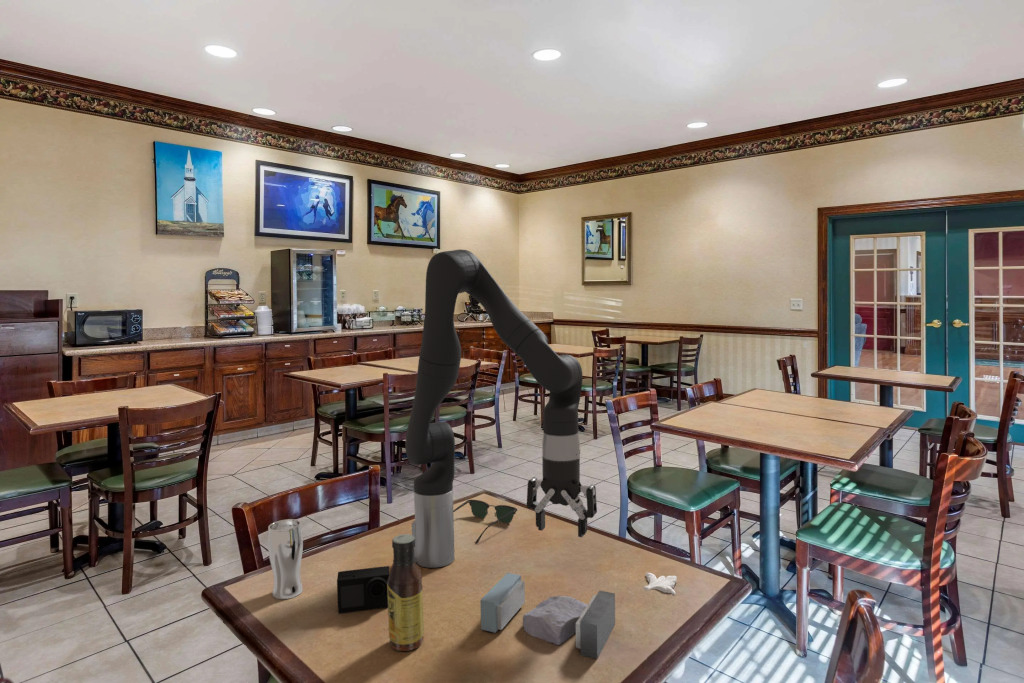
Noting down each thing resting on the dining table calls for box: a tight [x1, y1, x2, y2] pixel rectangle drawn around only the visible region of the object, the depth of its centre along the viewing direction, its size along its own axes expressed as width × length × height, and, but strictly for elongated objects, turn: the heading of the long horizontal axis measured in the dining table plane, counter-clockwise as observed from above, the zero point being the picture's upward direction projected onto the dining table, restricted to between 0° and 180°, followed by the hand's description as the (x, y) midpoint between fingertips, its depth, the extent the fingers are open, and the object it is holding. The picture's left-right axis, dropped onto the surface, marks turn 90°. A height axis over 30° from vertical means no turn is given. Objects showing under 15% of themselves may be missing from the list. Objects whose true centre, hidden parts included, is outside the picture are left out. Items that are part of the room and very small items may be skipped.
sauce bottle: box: [387, 533, 425, 652], centre depth 105 cm, size 6×6×20 cm
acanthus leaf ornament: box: [643, 572, 678, 596], centre depth 126 cm, size 8×7×2 cm
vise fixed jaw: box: [575, 590, 616, 660], centre depth 106 cm, size 4×12×6 cm, turn 155°
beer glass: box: [267, 518, 304, 600], centre depth 125 cm, size 7×7×15 cm
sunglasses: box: [453, 499, 518, 544], centre depth 160 cm, size 16×17×5 cm
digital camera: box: [336, 565, 390, 614], centre depth 119 cm, size 10×5×7 cm, turn 103°
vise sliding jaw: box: [479, 572, 526, 634], centre depth 114 cm, size 4×12×6 cm, turn 155°
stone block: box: [522, 595, 588, 646], centre depth 111 cm, size 12×5×10 cm
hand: (561, 532), depth 119 cm, fingers open, 8 cm apart
